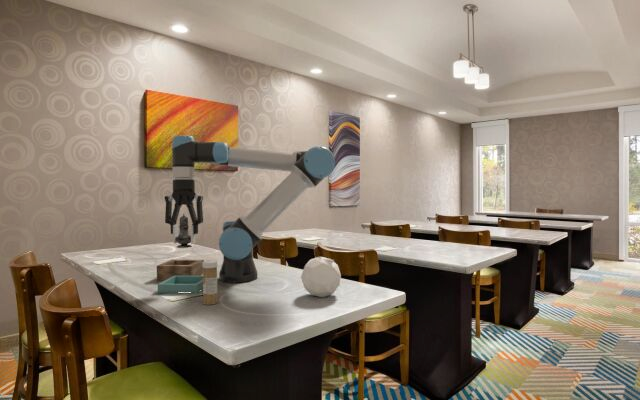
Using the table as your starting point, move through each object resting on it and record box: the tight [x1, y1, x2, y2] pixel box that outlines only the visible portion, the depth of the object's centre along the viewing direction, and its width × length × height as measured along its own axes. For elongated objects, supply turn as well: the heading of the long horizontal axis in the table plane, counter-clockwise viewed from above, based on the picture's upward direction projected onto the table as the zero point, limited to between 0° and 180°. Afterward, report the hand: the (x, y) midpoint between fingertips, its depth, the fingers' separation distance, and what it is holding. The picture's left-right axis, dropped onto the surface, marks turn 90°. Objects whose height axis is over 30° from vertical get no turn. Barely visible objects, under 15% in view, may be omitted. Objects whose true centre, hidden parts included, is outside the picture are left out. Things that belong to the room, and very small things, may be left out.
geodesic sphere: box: [300, 256, 342, 298], centre depth 137 cm, size 14×14×14 cm
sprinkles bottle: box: [202, 259, 219, 306], centre depth 128 cm, size 5×5×13 cm
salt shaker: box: [175, 213, 193, 249], centre depth 147 cm, size 6×6×12 cm
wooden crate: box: [156, 259, 205, 282], centre depth 166 cm, size 14×14×6 cm
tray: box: [157, 275, 203, 294], centre depth 148 cm, size 14×14×3 cm
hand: (184, 242), depth 147 cm, fingers closed on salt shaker, 6 cm apart
